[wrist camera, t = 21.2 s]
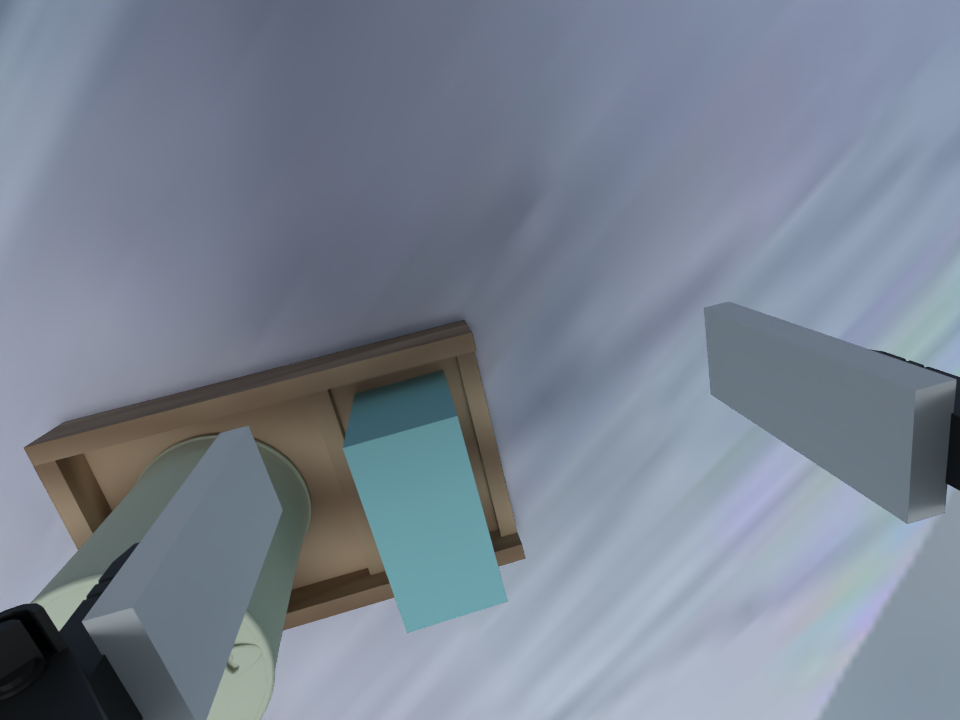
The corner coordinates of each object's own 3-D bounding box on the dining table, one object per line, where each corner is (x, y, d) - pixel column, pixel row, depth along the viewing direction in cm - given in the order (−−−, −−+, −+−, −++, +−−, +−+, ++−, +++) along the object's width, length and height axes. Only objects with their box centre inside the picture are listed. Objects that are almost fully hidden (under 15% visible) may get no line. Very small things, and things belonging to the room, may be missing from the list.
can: (330, 555, 31) (304, 751, 20) (169, 600, 30) (45, 834, 19) (284, 414, 29) (223, 549, 17) (104, 458, 28) (-86, 632, 16)
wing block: (354, 394, 29) (342, 448, 22) (443, 369, 29) (457, 415, 23) (404, 545, 32) (407, 632, 25) (484, 521, 32) (507, 601, 26)
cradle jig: (63, 422, 28) (23, 447, 25) (464, 320, 30) (471, 332, 27) (166, 628, 32) (143, 671, 29) (513, 527, 34) (525, 558, 31)
